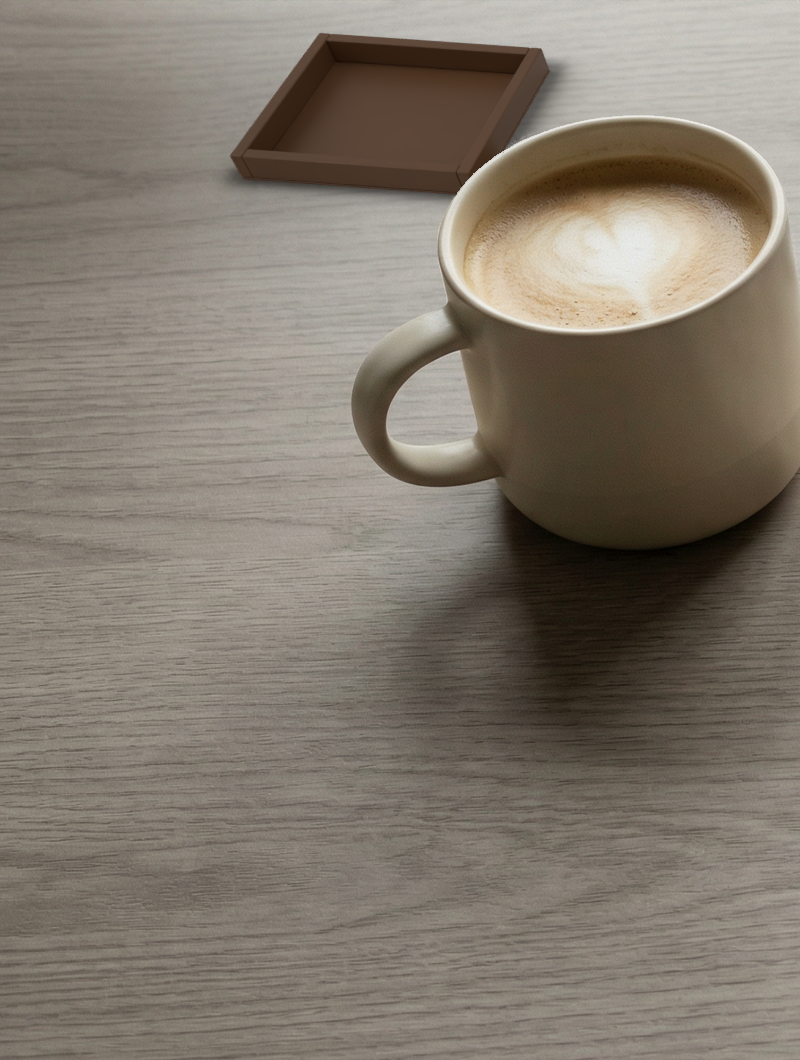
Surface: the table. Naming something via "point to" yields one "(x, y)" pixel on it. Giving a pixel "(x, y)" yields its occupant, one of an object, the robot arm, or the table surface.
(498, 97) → the valet tray
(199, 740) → the table surface
